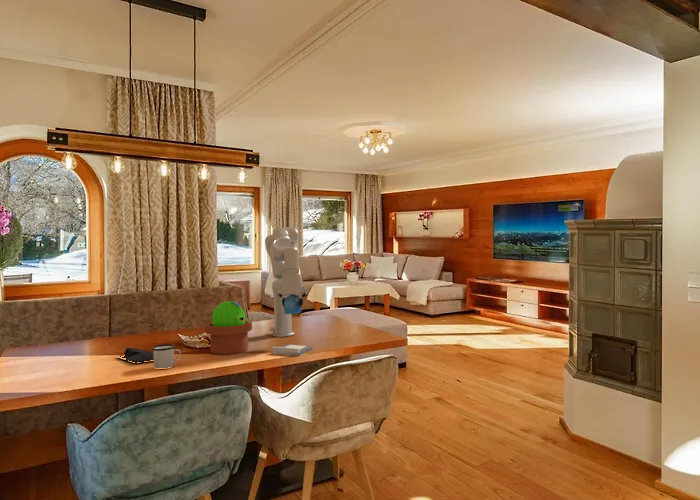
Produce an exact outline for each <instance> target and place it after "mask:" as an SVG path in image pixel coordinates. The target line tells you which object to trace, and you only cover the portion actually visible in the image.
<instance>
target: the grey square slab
mask: <svg viewBox="0 0 700 500" xmlns="http://www.w3.org/2000/svg"><path fill="white" fill-rule="evenodd" d="M271 350H272V352H271V353H272V354H273V355H283V356H295V357H299V356H302V355H304V354H306V353H307V352H310V351H311V350H313V346H312V345H304V344H303V345H301V344H290V343H289V344H288V343H287V344H285V345H283V346H272V349H271Z"/></svg>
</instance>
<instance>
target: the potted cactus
mask: <svg viewBox="0 0 700 500" xmlns="http://www.w3.org/2000/svg"><path fill="white" fill-rule="evenodd" d="M246 317H247V316H246V314H245V311H244V309H243V307H242V306H241V304H240V303H237V301H236V300H233V301H231V300H228V301H222V302H221V303H219V304H218V305H217V306H216V307H215V308H214V309H213V312H212V314H211V321H210V322H208V323H205V325H204V333H205V334H207V335H209V336H210V353H212V354H214V355H221V354H223V356H224V355H226V356H228V355H236V354H241V353H243V352H247V350H248V349H249V334H248V332H251V331H252V330H253V321H252V320H248V319H246Z"/></svg>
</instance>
